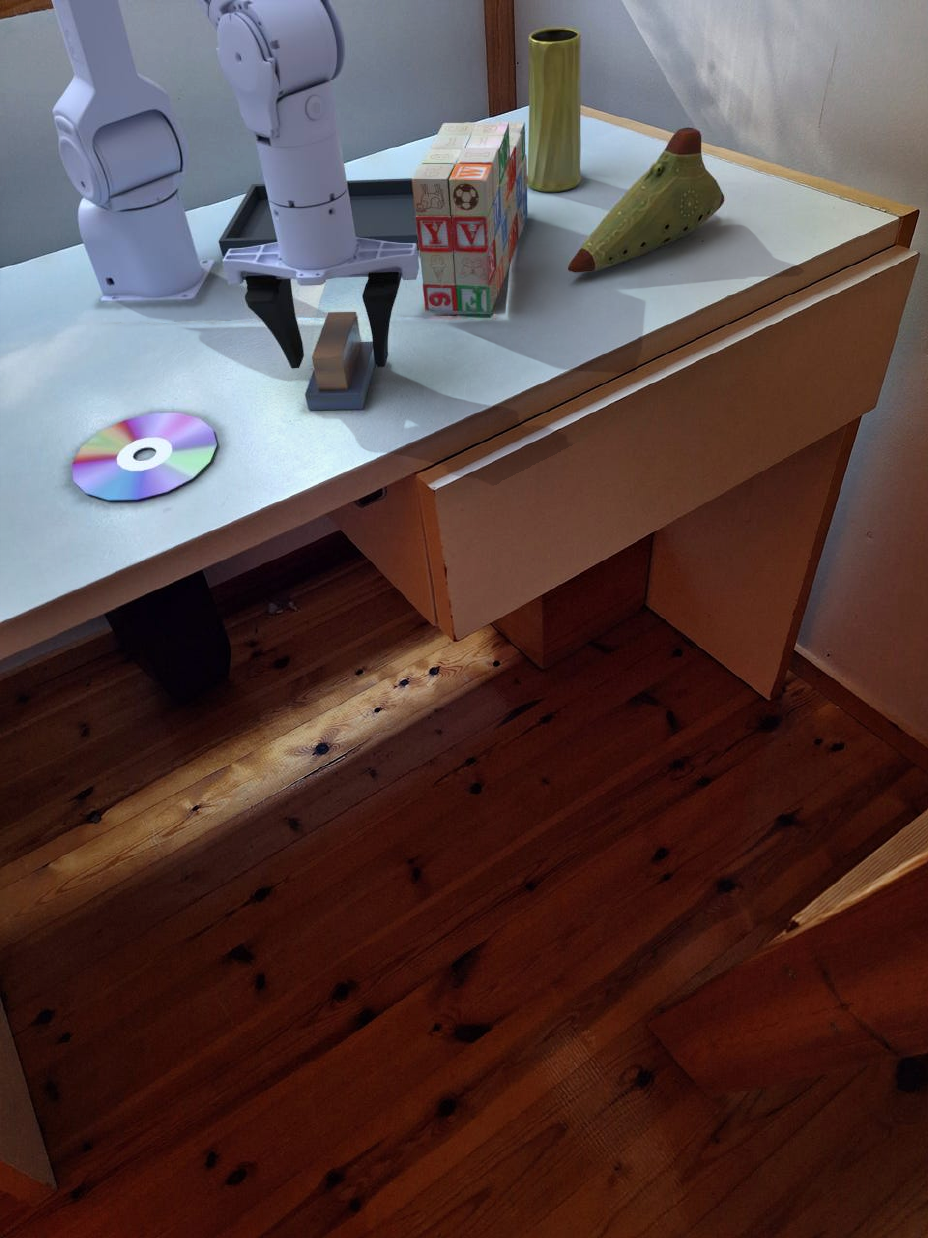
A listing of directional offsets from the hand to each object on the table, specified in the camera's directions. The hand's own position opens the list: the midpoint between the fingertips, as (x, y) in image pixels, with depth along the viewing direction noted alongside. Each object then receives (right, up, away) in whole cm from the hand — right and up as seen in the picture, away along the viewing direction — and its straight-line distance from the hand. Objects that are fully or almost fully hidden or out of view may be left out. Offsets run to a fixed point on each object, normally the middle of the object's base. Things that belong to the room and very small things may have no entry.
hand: (339, 361), depth 74 cm
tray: (-3, +21, +22) cm, 31 cm away
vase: (+20, +28, +27) cm, 44 cm away
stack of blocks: (+12, +14, +15) cm, 23 cm away
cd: (-15, -9, -4) cm, 17 cm away
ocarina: (+28, +15, +14) cm, 35 cm away
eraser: (0, -1, +1) cm, 2 cm away
